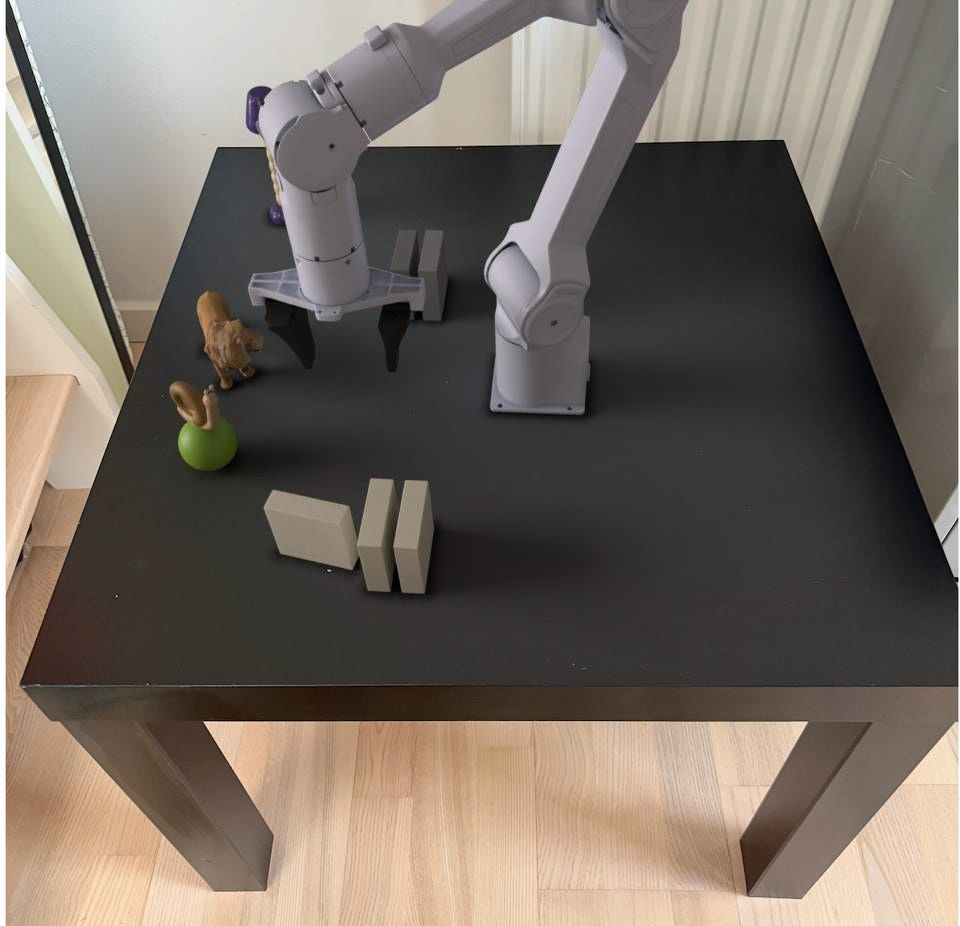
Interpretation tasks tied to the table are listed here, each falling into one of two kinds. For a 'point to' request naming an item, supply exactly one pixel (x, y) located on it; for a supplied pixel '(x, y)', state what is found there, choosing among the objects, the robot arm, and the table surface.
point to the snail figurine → (203, 428)
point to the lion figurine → (226, 338)
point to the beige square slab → (312, 529)
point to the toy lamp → (252, 116)
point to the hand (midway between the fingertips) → (351, 363)
